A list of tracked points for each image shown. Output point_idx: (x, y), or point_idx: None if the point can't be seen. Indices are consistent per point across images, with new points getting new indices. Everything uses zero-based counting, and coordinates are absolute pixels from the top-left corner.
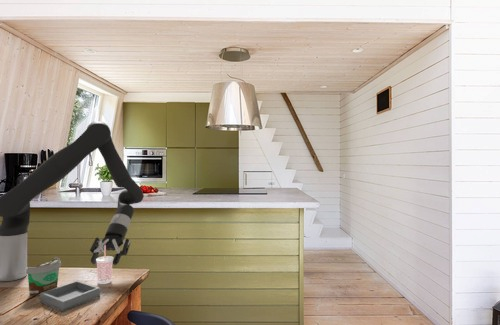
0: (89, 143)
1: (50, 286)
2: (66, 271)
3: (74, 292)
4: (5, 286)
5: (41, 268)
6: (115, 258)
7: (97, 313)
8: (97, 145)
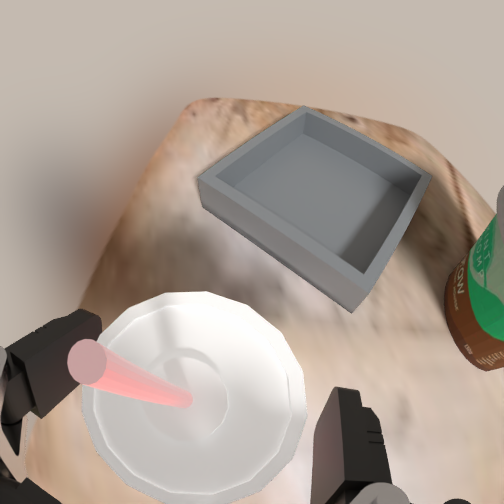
0: None
1: (460, 267)
2: None
3: (335, 241)
4: None
5: None
6: (55, 326)
7: (192, 115)
8: None
